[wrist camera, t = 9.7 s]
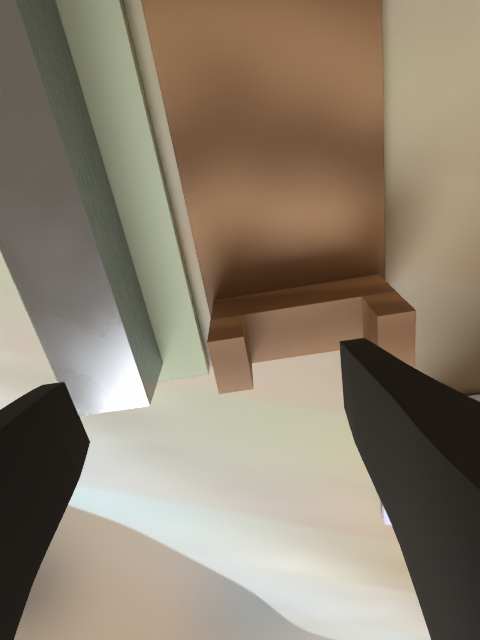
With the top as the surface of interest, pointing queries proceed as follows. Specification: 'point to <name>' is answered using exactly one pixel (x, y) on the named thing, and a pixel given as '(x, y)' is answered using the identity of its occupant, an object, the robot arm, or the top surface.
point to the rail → (67, 222)
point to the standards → (281, 173)
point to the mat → (135, 177)
